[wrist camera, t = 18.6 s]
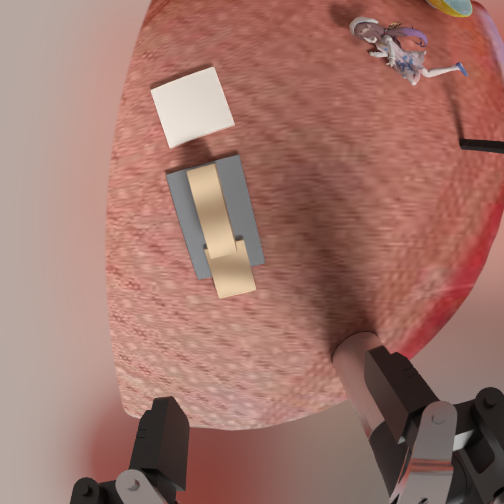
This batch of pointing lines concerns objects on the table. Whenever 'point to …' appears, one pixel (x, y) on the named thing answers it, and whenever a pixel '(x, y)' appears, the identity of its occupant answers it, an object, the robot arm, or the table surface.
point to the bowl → (452, 7)
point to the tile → (192, 107)
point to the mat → (236, 206)
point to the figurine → (397, 48)
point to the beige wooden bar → (220, 234)
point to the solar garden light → (482, 145)
